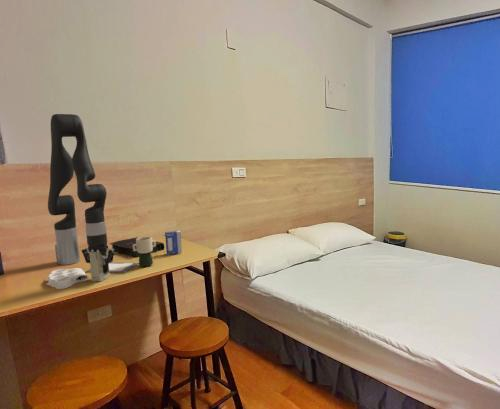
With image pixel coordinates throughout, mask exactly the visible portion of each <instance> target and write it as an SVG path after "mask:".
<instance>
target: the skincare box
mask: <svg viewBox="0 0 500 409" xmlns="http://www.w3.org/2000/svg"><path fill="white" fill-rule="evenodd" d="M106 253H108V252H106ZM89 255H90V263H89V266H90V269H91V272H90V276H91V282H103V281H105V280H106V279H108V278H110V276H111V273H109V271H108V272H107V273H103V263H102V260H101V255H100V253H99V252H89ZM107 256H108V254H107ZM103 257H105V255H104V256H103ZM108 265H109V264H108Z"/></svg>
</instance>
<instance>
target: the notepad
mask: <svg viewBox="0 0 500 409" xmlns="http://www.w3.org/2000/svg"><path fill="white" fill-rule="evenodd" d="M138 265H139V262H121V261H120V262H116V261H112V262H110V263H109V274H126V273H128V272H129V271H131V270H132V269H134V268H135V267H137V266H138ZM85 273H91V268H90V269H88V270H85Z"/></svg>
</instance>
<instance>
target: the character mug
mask: <svg viewBox="0 0 500 409" xmlns="http://www.w3.org/2000/svg"><path fill="white" fill-rule="evenodd" d="M152 242H154V245H152ZM156 242H157V241H156V240H155V239H153V237H152V236H141V237H138V238H137V239H136V244H133V251H137V252H138V253H140V255H139V257H138V263H139V264H138V265H139V266H141V267H148V266H151V265H153V264H154V260H153V256H152V253H150V252H151V251H152V250H153V247H155V246H156ZM135 246H136V247H137V249H135Z"/></svg>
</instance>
